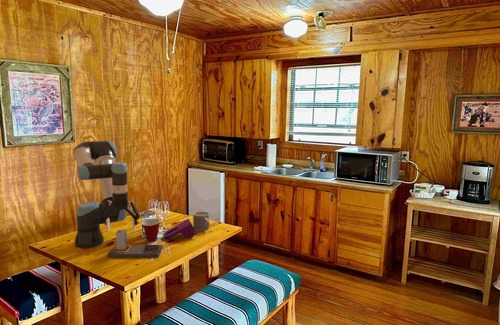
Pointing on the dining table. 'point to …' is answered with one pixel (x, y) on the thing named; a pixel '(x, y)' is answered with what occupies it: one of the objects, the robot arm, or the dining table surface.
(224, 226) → the dining table surface
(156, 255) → the grey peg board
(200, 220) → the coffee mug
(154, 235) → the plastic cup
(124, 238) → the peg
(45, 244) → the dining table surface
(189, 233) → the mounting bracket
